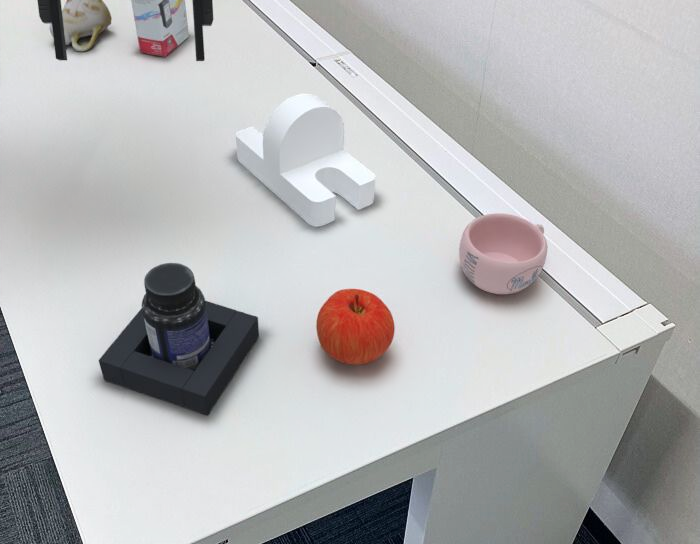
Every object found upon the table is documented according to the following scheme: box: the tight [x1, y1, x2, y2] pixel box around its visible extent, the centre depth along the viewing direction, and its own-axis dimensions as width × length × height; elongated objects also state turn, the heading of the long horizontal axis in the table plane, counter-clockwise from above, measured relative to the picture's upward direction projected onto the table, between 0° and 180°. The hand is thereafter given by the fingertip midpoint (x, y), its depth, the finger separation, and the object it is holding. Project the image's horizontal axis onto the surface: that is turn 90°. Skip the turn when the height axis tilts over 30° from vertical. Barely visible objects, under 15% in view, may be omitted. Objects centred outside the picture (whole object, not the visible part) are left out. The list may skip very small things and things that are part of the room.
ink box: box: [130, 0, 190, 58], centre depth 123 cm, size 9×5×12 cm, turn 159°
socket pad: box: [98, 300, 260, 416], centre depth 80 cm, size 12×12×3 cm
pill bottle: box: [141, 262, 212, 371], centre depth 77 cm, size 6×6×11 cm
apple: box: [315, 288, 396, 365], centre depth 80 cm, size 8×8×8 cm
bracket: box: [235, 93, 377, 228], centre depth 99 cm, size 19×10×11 cm, turn 38°
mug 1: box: [49, 0, 113, 52], centre depth 126 cm, size 8×10×10 cm
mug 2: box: [458, 212, 548, 295], centre depth 90 cm, size 12×10×6 cm
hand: (132, 60), depth 78 cm, fingers open, 13 cm apart
